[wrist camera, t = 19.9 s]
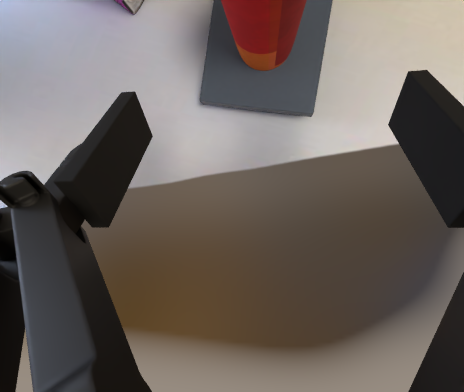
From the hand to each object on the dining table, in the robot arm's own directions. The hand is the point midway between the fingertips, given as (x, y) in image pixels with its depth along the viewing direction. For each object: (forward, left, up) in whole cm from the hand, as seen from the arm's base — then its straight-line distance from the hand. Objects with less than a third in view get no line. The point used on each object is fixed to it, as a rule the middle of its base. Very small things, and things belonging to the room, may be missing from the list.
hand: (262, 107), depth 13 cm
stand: (-2, +10, -17) cm, 20 cm away
